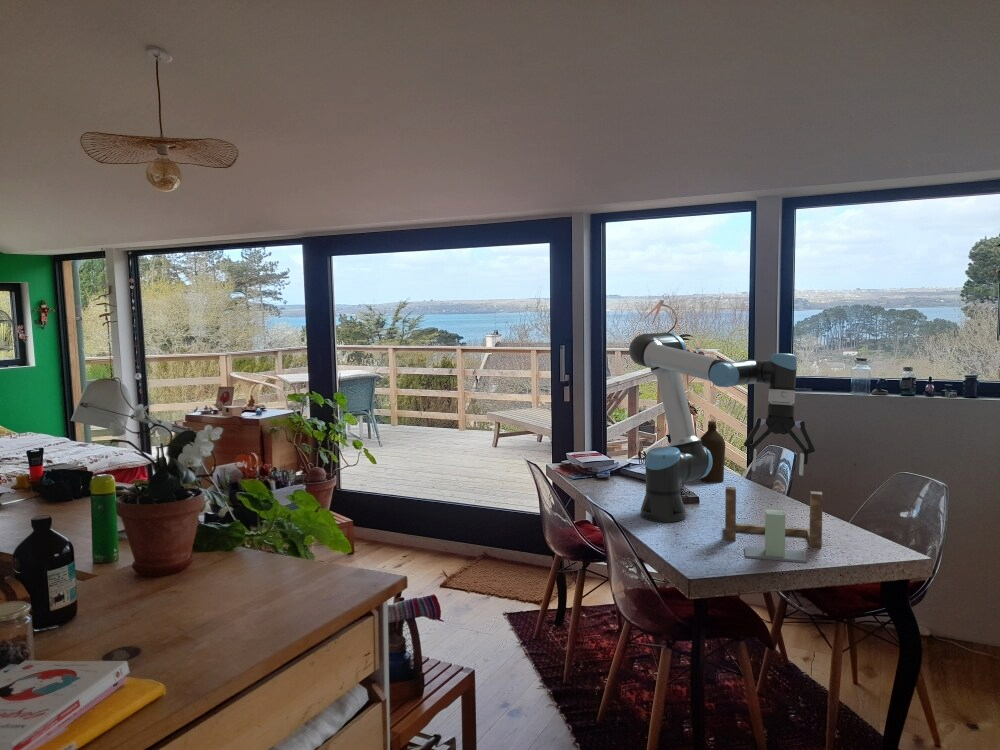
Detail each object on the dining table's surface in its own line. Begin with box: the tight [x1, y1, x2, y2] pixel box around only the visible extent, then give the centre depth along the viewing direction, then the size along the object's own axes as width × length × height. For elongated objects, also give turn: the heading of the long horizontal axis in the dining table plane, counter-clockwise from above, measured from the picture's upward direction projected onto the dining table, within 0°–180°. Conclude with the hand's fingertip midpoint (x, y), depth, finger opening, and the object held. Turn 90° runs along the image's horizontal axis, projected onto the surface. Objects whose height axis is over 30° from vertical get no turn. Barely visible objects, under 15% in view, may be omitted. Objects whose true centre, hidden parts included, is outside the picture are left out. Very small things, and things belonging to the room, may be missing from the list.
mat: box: [744, 546, 808, 564], centre depth 196 cm, size 16×8×1 cm, turn 72°
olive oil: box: [699, 420, 726, 483], centre depth 287 cm, size 11×11×25 cm
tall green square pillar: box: [764, 509, 786, 557], centre depth 196 cm, size 5×5×12 cm
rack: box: [724, 486, 824, 549], centre depth 211 cm, size 27×12×16 cm, turn 72°
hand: (777, 472), depth 211 cm, fingers open, 13 cm apart
